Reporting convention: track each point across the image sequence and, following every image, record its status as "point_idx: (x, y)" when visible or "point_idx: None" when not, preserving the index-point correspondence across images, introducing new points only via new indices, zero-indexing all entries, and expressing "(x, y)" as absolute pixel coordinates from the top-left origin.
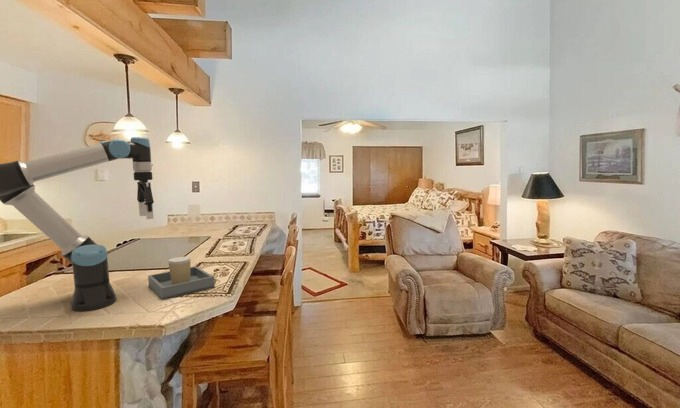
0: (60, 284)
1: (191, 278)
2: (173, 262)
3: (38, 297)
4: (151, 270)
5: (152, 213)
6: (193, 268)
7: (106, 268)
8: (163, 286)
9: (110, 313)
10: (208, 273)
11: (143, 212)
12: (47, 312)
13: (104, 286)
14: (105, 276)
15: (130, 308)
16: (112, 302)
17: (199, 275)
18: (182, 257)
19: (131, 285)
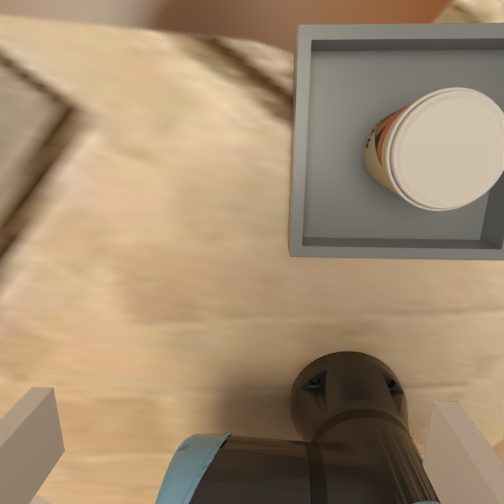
0: (63, 439)
1: (347, 85)
2: (479, 196)
3: None
4: (62, 181)
5: (500, 470)
6: (310, 48)
7: (415, 461)
8: (495, 249)
9: (465, 382)
10: (486, 23)
11: (27, 451)
12: None
13: (403, 421)
14: (410, 442)
15: (473, 337)
16: (387, 367)
17: (372, 47)
18: (421, 123)
19: (232, 287)
